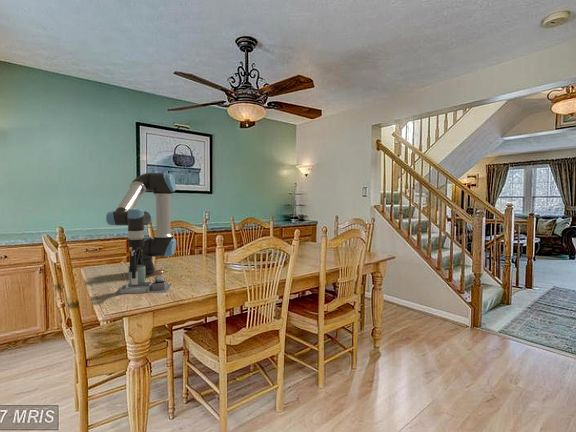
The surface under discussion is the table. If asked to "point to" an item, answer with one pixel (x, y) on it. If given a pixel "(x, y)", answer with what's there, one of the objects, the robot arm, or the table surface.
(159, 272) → the plunger
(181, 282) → the table surface
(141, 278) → the cup
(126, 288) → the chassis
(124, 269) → the table surface
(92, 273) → the table surface
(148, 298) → the table surface
